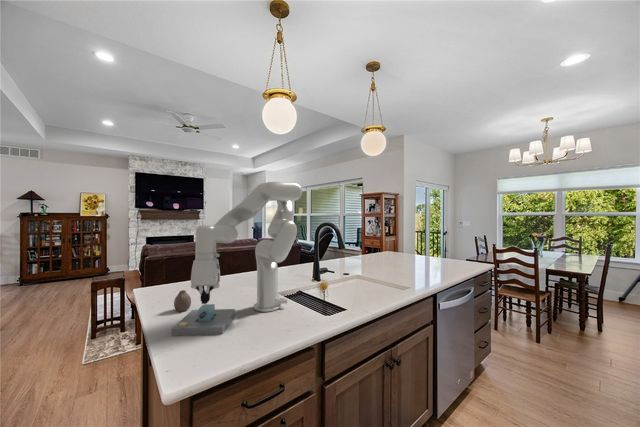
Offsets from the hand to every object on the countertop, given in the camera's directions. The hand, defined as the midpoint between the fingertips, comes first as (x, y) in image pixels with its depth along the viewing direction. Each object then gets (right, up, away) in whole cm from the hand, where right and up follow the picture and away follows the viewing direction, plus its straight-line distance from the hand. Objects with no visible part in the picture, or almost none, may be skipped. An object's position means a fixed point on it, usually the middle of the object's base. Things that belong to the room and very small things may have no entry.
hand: (205, 302), depth 103 cm
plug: (+1, -9, -1) cm, 9 cm away
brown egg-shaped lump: (-17, -9, +15) cm, 24 cm away
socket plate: (0, -9, 0) cm, 9 cm away
